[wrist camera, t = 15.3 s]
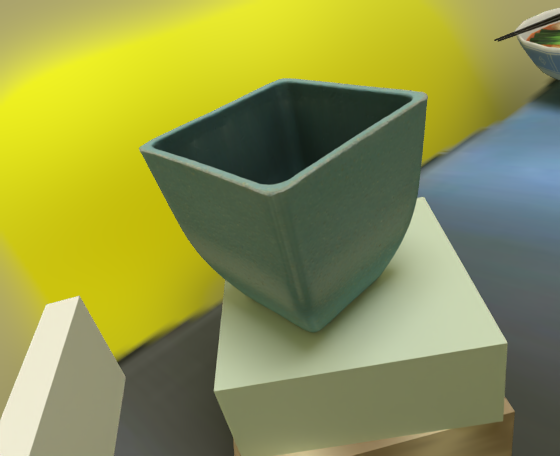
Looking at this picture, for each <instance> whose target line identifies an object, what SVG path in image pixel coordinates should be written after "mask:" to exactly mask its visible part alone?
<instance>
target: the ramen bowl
mask: <svg viewBox="0 0 560 456" xmlns="http://www.w3.org/2000/svg"><path fill="white" fill-rule="evenodd" d="M507 36H508V37H507ZM513 36H517V38H518V40H519V42H520V44H521V46H522V47H523V49H524V50H525V51H526V53H527V54H528V56H529V57H530V58H531V59H532V61H533V62H534V63H535V64H536V66H538V68H539V69H540V70H541V71H542V72H543V73H545V74H547V75H549V76H551V77H553V78H555V79H557V80H560V8H556V9H552V10H549V11H545V12H542V13H540V14H538V15H536V16H534V17H531V18H529V19H527V20H525V21H523V22H522V23H521V24H520V25H519V27H518V28H517V29H516V30H515V31H514V32H512V33H510V34H507V35H505V36H502V37H500V38H498V39H495V41H496V40H498V41H501V40H504V39H507V38H510V37H513ZM504 37H505V38H504ZM499 39H500V40H499Z"/></svg>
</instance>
